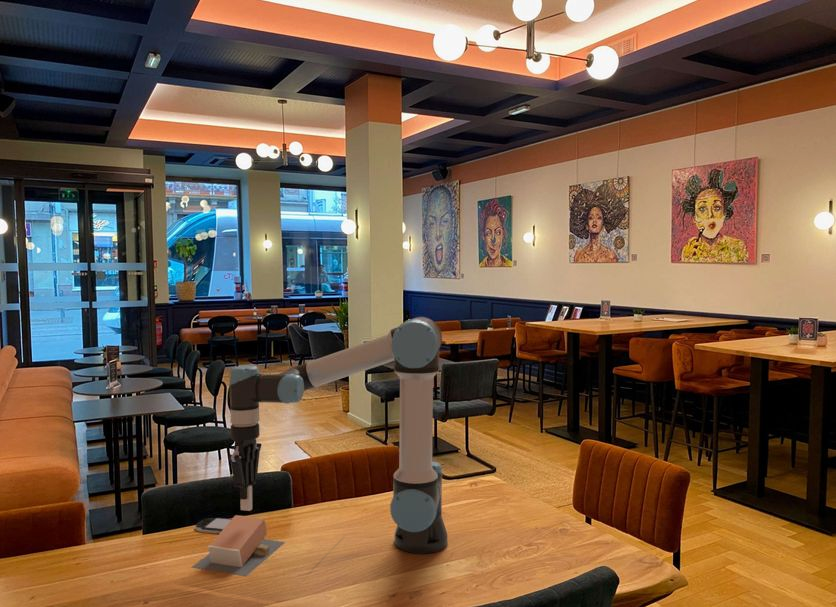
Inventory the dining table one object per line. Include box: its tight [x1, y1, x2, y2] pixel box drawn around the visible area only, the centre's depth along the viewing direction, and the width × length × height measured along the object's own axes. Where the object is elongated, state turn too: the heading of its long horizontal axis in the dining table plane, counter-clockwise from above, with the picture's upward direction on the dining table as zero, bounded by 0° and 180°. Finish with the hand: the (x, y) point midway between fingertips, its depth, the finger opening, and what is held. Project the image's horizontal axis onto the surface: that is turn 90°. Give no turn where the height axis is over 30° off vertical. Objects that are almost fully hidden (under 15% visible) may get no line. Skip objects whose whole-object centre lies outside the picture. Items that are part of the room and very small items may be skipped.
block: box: [207, 514, 268, 567], centre depth 160 cm, size 9×5×13 cm
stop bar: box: [252, 544, 269, 556], centre depth 163 cm, size 14×2×2 cm, turn 74°
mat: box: [191, 538, 286, 577], centre depth 161 cm, size 16×20×1 cm
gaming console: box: [195, 517, 233, 535], centre depth 178 cm, size 19×9×3 cm, turn 79°
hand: (246, 509), depth 163 cm, fingers closed
